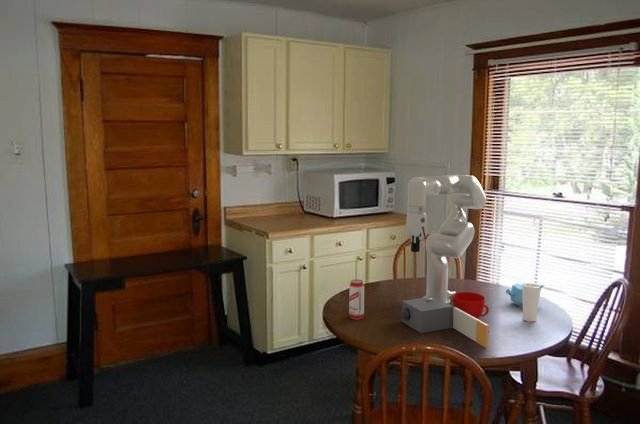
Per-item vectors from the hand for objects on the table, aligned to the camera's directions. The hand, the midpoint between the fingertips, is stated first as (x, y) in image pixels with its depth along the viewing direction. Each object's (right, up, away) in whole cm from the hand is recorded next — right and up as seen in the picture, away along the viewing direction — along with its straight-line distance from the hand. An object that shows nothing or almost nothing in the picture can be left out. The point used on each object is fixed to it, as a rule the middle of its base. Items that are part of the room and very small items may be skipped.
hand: (415, 251), depth 232 cm
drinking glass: (+47, -29, -5) cm, 55 cm away
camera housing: (+3, -29, -11) cm, 31 cm away
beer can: (-25, -28, -2) cm, 38 cm away
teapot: (+52, -25, +14) cm, 60 cm away
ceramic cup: (+22, -29, -6) cm, 37 cm away
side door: (+16, -31, -24) cm, 43 cm away
